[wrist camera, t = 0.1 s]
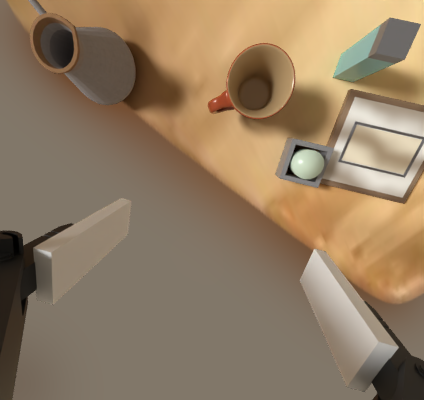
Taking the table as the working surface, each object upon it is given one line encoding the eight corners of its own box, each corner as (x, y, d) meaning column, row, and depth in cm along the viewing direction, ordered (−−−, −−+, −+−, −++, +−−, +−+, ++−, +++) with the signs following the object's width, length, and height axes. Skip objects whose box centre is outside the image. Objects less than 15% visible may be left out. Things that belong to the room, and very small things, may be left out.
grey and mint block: (341, 54, 33) (390, 17, 23) (362, 58, 33) (420, 24, 22) (332, 77, 34) (375, 52, 24) (352, 82, 34) (404, 59, 24)
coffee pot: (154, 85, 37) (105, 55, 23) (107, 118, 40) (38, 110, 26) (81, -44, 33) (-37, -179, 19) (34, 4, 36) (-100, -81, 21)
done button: (293, 145, 36) (299, 147, 33) (320, 152, 36) (329, 154, 33) (284, 171, 38) (289, 175, 35) (310, 178, 38) (317, 182, 34)
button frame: (287, 137, 38) (292, 138, 34) (324, 146, 37) (334, 148, 34) (275, 174, 40) (279, 178, 36) (310, 182, 40) (318, 187, 36)
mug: (271, 58, 34) (285, 29, 25) (284, 111, 36) (302, 103, 27) (205, 89, 37) (194, 73, 27) (221, 136, 39) (217, 137, 29)
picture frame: (348, 90, 34) (352, 88, 33) (450, 113, 34) (458, 112, 33) (312, 180, 40) (315, 182, 38) (400, 201, 39) (405, 204, 38)
